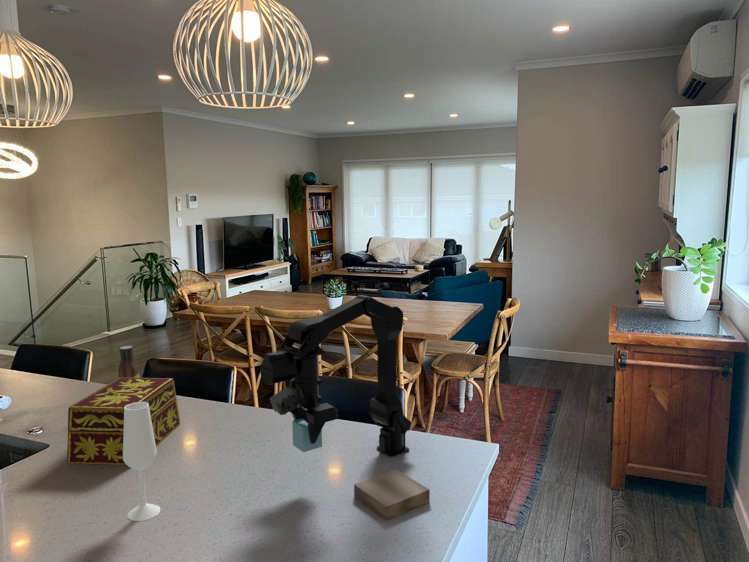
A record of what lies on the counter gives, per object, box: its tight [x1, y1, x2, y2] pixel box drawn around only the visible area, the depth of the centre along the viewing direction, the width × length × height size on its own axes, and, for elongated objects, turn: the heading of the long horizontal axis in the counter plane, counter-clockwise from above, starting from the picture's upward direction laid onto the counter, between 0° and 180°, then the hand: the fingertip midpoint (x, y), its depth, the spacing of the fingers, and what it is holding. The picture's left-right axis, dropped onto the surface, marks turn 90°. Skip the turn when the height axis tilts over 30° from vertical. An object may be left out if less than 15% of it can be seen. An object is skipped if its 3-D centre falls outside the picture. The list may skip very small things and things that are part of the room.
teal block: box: [291, 418, 323, 453], centre depth 132 cm, size 5×5×6 cm
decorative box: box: [66, 377, 181, 466], centre depth 157 cm, size 28×19×15 cm
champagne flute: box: [123, 402, 161, 522], centre depth 120 cm, size 7×7×24 cm
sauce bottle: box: [118, 345, 140, 378], centre depth 186 cm, size 7×6×20 cm
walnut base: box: [353, 468, 431, 521], centre depth 126 cm, size 12×12×3 cm
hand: (307, 439), depth 133 cm, fingers closed on teal block, 5 cm apart
